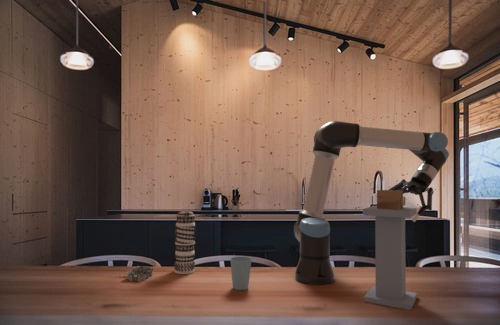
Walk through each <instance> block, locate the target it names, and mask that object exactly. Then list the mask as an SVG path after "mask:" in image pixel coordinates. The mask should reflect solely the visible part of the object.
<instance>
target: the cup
mask: <svg viewBox="0 0 500 325" xmlns="http://www.w3.org/2000/svg"><path fill="white" fill-rule="evenodd" d="M251 268H252V258H251V257H248V256H233V257H230V269H231V272H230V273H231V279H232V280H231V282H232V289H233V290H235V291H245V290H248V289H249V284H250V275H251Z"/></svg>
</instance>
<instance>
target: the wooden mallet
mask: <svg viewBox="0 0 500 325" xmlns="http://www.w3.org/2000/svg"><path fill="white" fill-rule="evenodd" d="M376 206H377V209H394V210H400V209H403V207H404V206H406V196H404V194H403V191H400V190H389V189H380V190H376Z"/></svg>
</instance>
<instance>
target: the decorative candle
mask: <svg viewBox="0 0 500 325" xmlns="http://www.w3.org/2000/svg"><path fill="white" fill-rule="evenodd" d="M175 216H176V222H175V225H174V226H173V227H174V229H175V230H174V237H175V239H174V244H175V251H174V252H175V254H174V257H175V258H174V261H175V262H174V263H173V264H174V267H173V269H174V272H173V273H175V274H177V275H178V274H179V275H189V274H192V273H195V268H196V267H195V265H196V262H195V259H196V258H195V257H196V253H195V244H196V240H197V239H196V236H197V235H196V234H195V233H196V232H197V229H196V228H197V225H196V222H195V218H196V215H195V214H194V212H193V211H191V210H188V211H187V210H183V211H182V210H181V211H179V212H177V214H176V215H175Z"/></svg>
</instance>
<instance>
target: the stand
mask: <svg viewBox="0 0 500 325" xmlns="http://www.w3.org/2000/svg"><path fill="white" fill-rule="evenodd" d="M415 214H417V207H404V206H403V209H400V210H394V209H377V205H372V206H369V207H365V208H362V216H373V217H374V218H375V221H374V222H375V227H374V228H375V232H374V233H375V234H374V235H375V285H373V286H371V289H369V290H368V292H366V294H365V295H364V296H363V302H366V303H369V304H377V305H381V306H386V307H387V306H388V307H392V308H398V309H403V310H408V311H412V309H413V306H414V304H415V302H416V300H417V298H418V296H417V295H418V293H417V292H413V291H407V290H406V289H407V287H406V278H407V276H406V275H407V274H406V269H407V268H406V219H410V218H412V216H414V215H415Z"/></svg>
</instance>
